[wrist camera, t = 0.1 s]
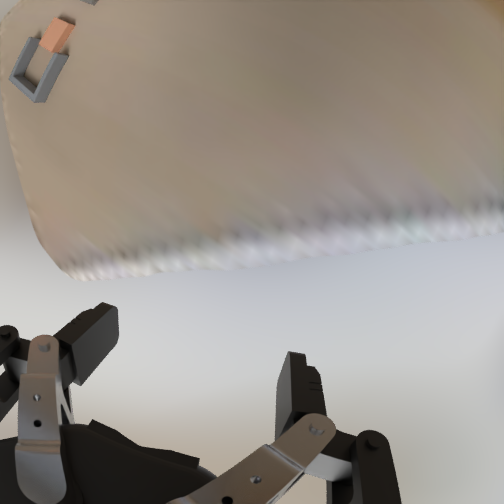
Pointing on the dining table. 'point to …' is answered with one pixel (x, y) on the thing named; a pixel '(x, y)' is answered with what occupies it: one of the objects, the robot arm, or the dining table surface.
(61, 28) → the tile
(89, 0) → the brown and grey scraper
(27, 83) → the bay
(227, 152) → the dining table surface
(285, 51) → the dining table surface
